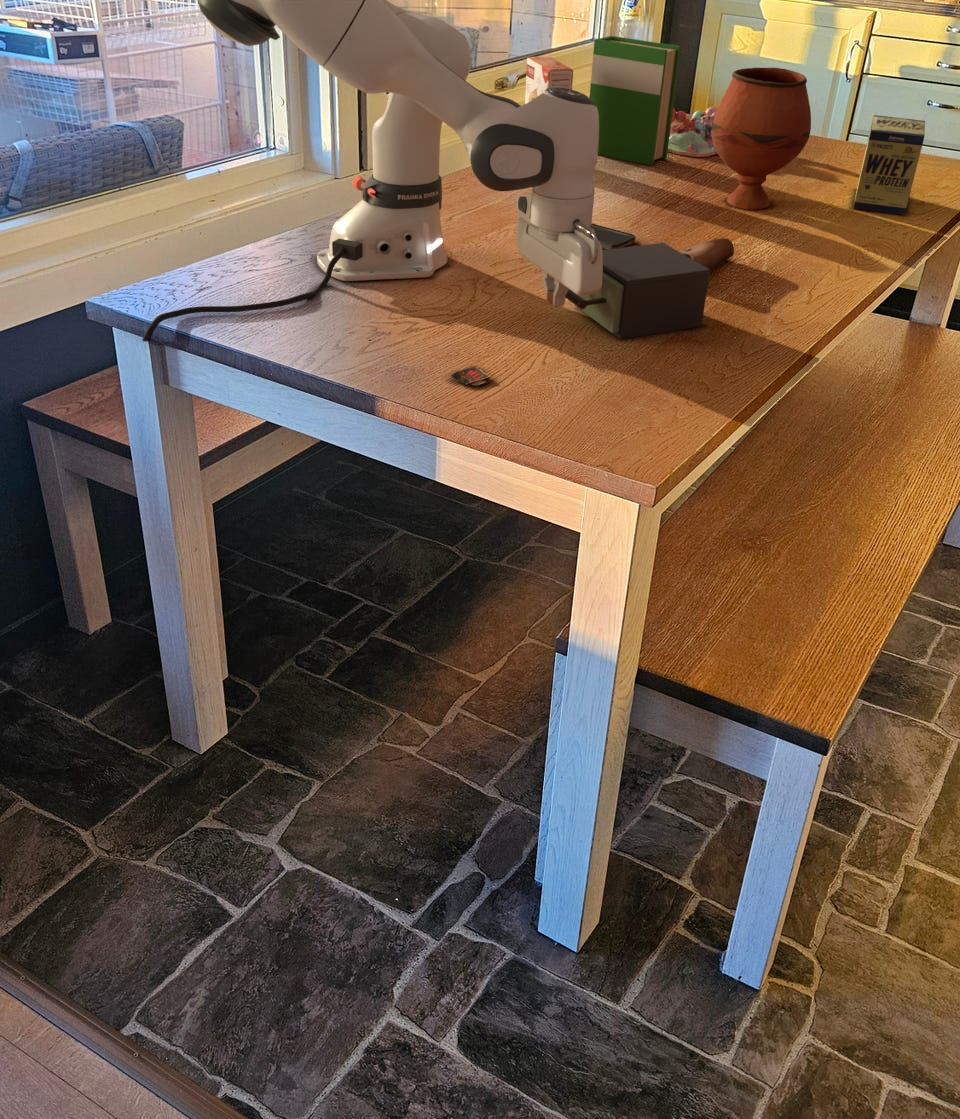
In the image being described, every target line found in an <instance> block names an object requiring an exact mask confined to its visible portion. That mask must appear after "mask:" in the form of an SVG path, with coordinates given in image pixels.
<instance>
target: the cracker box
mask: <svg viewBox="0 0 960 1119" xmlns="http://www.w3.org/2000/svg"><path fill="white" fill-rule="evenodd" d="M573 79H574V69H573V68H571V67H569V66H568V65H566V64H564V63H562V62H560V61H559V60H557V59H555V58H554V57H552V56H529V57H527V58H526V76H525V99H524V104H526V103H528V102H530V101H531V100H533V99H535V98H536V97H538V96H539V95H540V94H542V93H543V91H544V90H545V89H547V88H552V87H554V88H557V87H559V88H566V89H571V90H573Z"/></svg>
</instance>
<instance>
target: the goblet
mask: <svg viewBox="0 0 960 1119" xmlns="http://www.w3.org/2000/svg"><path fill="white" fill-rule="evenodd" d="M731 77H732V78H731V81H730V83H729V85H728V87H727V89H726V91H725V93H724V95H723V96H722V98H721V100H720V102H719V104H718V107H717V108H716V109H717V111H716V113H715V116H714V120H713V124H712V131H711V136H712V141H713V144H714V147H715V149H716V151H717V153H718V154H717V155H718V156H719V158H720V160H722V162H723V163H724V164H725V165H726V166H727V167H728V168H730V169H731V170H733V171H734V172H735V173H737V176H736V180H737V181H738V183H739V185H738V186H737V187H736V189H734V190H733V192H731V193H730V194H729V196H728V197H727V199H726V201H727V203H728V204H729V205H730V206H732V207H734V208H738V209H742V210H752V211H754V210H764V209H767V208H768V207H769V206H771V200H770V198H769V196H768V194H767V193H766V191H765V189H764V188H763V184H764V183H765V182H766V180H767V176H770V175H771V174H773V173H776V172H777V171H780V170H781V169H783V168H785V167H786V166H788V165H789V164H791V162H792V161H793V160H795V159H796V158H797V157H798V156H799V155H800V154H801V152H802V151H803V150H804V149H805V147H806V146H807V143H808V141H809V140H810V139H809V138H810V135H811V130H812V112H811V105H810V99H809V94H808V88H807V82H808V79H807V77H806V76H805V75H804V74H802V73H800V72H797V71H794V70H790V69H786V68H780V67H749V68H748V67H747V68H745V67H744V68H739V69H736V70H734V71H733V72H732V74H731Z"/></svg>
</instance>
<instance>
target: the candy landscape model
mask: <svg viewBox="0 0 960 1119" xmlns="http://www.w3.org/2000/svg"><path fill="white" fill-rule="evenodd" d="M716 111H717V108H716V106H710V107H708V108H707V109H706V110H705V111H702V110H696V111H695V112H694V113H693V114H692V116H691V118H690V119H688V118H687V113H686V111H684V110H679V111H677V110H676V109H675V107H673V114H672V121H671V124H672V123H674V122H675V121H676V122H677V123H678V124H679V123H680V124H679V125H678V124H677V125H674V126H671V129H670V137H669V145H668V152H667V153H671V154H672V153H673V154H675V155H678V156H679V155H680V156H685V157H686V156H688V157H693V158H703V157H710V156H715V155H718V153H717V151H716V149H715V147H714V144H713V141H712V136H711V131H712V124H713V120H714V116H715V113H716Z"/></svg>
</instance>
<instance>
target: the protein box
mask: <svg viewBox="0 0 960 1119" xmlns="http://www.w3.org/2000/svg"><path fill="white" fill-rule="evenodd" d="M925 131H926V121H925V120H921V119H914V118H913V119H912V118H906V117H905V118H904V117H895V116H885V115H876V114H874V115H873V118H872V122H871V125H870V129H869V133H868V138H867V142H866V147H865V152H864V154H863V159H862V165H861V169H860V173H859V177H858V182H857V187H856V191H855V196H854V202H853V206H852V208H853V210H855V209H856V210H862V211H872V212H877V213H885V214H891V215H892V214H893V215H900V216H905V215H906V210H907V206H908V204H909V200H910V196H911V192H912V188H913V183H914V180H915V177H916V176H915V175H916V172H917V168H918V164H919V160H920V156H921V152H922V149H923V144H924V140H925V135H926V132H925Z"/></svg>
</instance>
